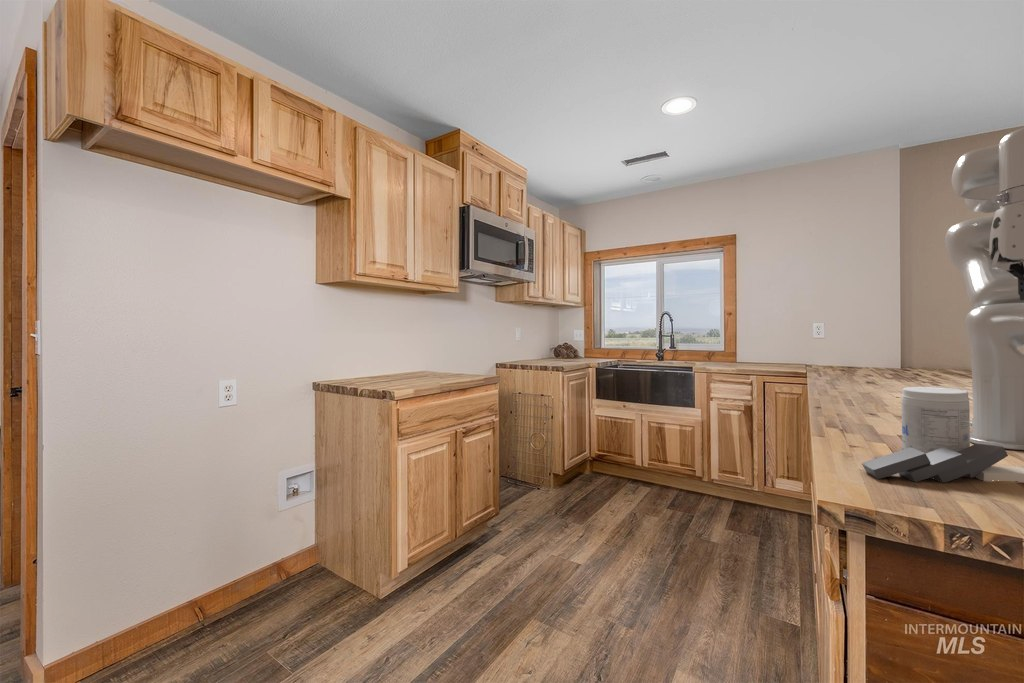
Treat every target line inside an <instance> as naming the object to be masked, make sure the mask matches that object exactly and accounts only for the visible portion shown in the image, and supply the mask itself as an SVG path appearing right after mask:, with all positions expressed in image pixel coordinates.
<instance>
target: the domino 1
mask: <svg viewBox="0 0 1024 683" xmlns="http://www.w3.org/2000/svg"><path fill="white" fill-rule="evenodd" d="M929 463H931V462H930V461H929V459H928V457H927V455H926V453H923V452H921V451H919V450H916V449H914V448H912V447H910V448H907V449H904V450H902V449H900V450H898V451H894V452H891V453H888V454H886V455H882V456H879V457H877V458H873V459H870V460H867V461H864V462H861V466H863V469H864V470H865V472H866V473H868V474H869V475H871V476H873V477H874V478H875V479H877V480H880V479H884V478H887V477H891V476H893V475H896V474H899V473H900V472H904V471H907V470H910V469H913V468H917V467H920V466H923V465H926V464H929Z"/></svg>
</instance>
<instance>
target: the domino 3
mask: <svg viewBox="0 0 1024 683" xmlns="http://www.w3.org/2000/svg"><path fill="white" fill-rule="evenodd" d="M958 453H960V454H962V455H963V456H964V458H965V460H966V462H967V463H968V464H965V465H962V466H960V467H957V468H954V469H951V470H949V471H946V472H943V473H940V474H937V475H935V476H932V477H931V478H930V479H932V478H934V479H936V480H935V481H937V480H939V481H941V482H940V483H942V482H945V483H947V482H950V481H953V480H955V479H958V478H961V477H965V476H964V475H966V474H969V473H972V472H974V471H977V470H980V469H982V468H985V467H988V466H990V465H992V466H994V465H996V463H994V461H993V459H992V458H991V456H990V454H987V453H984V452H981V451H977V450H974V449H971V448H965V449H963V450H960V451H958ZM993 464H994V465H993ZM934 479H933V480H934ZM939 481H938V482H939Z"/></svg>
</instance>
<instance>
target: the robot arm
mask: <svg viewBox="0 0 1024 683" xmlns="http://www.w3.org/2000/svg"><path fill="white" fill-rule="evenodd" d="M951 187H952V190H953V192H954V194H956V196H958V197H959V198H961V199H964V202H965V206H966V207H967V208H968V209H969V210H970V211H973V212H975V213H979V214H991V213H994V215H990V216H989V215H988V216H983V217H975V218H972V219H971V218H970V219H966V220H963V221H961V222H958V223H955V224H954V225H952V226H951V227H950V228H949V229H947V231H946V234H945V238H944V242H945V243H944V245H945V250H946V254H947V257H948V258H949V261H950V262H951V264H952V265H953V266H954V267H955V268H956V269H957V270H958V272H959V273H960V274H961V275H962V278H963V280H964V286H965V290H966V295H967V298H968V301H969V304H970V306H971V307H972V308H973V309H971V310H970V311H969V312H967V314H966V316H965V318H964V320H965V321H964V323H965V324H964V326H965V330H966V335H967V339H968V342H969V343H968V344H969V349H970V359H971V360H970V361H971V384H972V386H971V389H972V394H971V395H972V420H970V427H972V432H971V431H970V443H973V444H975V443H977V444H985V445H994V446H1003V447H1004V449H1007V450H1018V451H1019V450H1020V451H1024V353H1023V352H1022V351H1020V350H1019V349H1018V348H1019V347H1024V127H1021V128H1019V129H1017V130H1013V131H1011V132H1009V133H1008V134H1006V135H1004V136H1003V137H1002V139H1001V140H1000V141H999V144H995V145H990V146H987V147H982V148H978V149H973V150H970V151H968V152H965V153H964V154H963V155H961V156H960V157H959V159H958V160H957V162H956V163H955V166H954V168H953V171H952V175H951Z"/></svg>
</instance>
